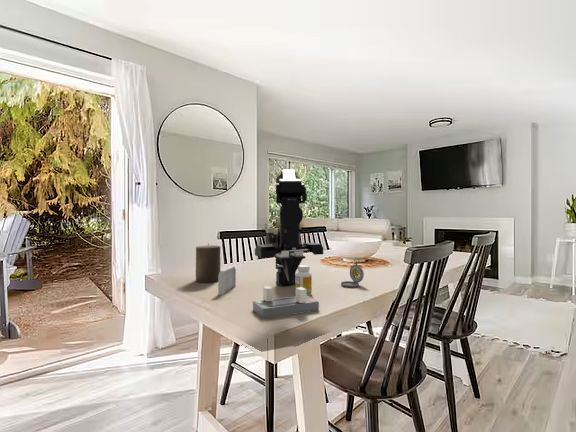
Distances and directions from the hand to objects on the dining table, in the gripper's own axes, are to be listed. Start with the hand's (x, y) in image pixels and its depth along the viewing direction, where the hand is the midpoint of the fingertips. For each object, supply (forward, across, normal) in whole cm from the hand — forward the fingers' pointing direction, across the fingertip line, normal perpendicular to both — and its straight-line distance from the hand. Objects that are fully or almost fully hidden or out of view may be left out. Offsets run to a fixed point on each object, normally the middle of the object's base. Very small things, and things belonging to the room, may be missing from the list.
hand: (289, 280), depth 90 cm
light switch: (+9, +10, -32) cm, 34 cm away
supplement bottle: (+9, -12, -16) cm, 22 cm away
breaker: (+6, +4, -5) cm, 9 cm away
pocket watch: (+9, -36, -20) cm, 42 cm away
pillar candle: (+9, +12, -50) cm, 53 cm away
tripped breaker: (+6, -4, 0) cm, 7 cm away
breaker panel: (+9, 0, -2) cm, 9 cm away
